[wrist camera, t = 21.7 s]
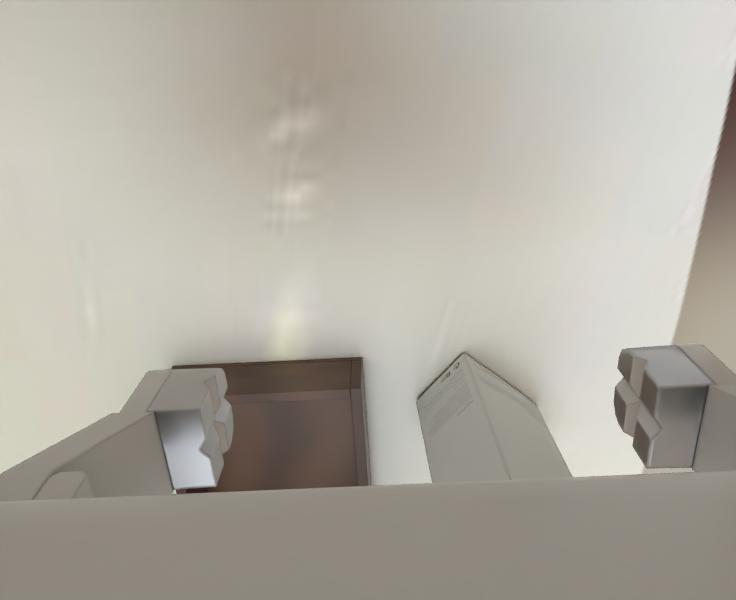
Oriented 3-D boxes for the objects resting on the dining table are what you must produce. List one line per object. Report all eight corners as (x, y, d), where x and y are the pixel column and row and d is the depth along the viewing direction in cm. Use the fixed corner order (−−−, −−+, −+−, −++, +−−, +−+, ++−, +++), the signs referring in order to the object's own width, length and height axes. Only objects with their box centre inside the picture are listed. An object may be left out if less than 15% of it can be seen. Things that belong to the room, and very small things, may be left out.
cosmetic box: (414, 399, 47) (431, 548, 33) (466, 346, 45) (507, 482, 31) (492, 453, 49) (538, 614, 35) (545, 405, 47) (615, 556, 33)
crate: (208, 529, 53) (194, 570, 49) (172, 366, 46) (153, 398, 42) (374, 523, 52) (374, 564, 48) (362, 357, 45) (361, 388, 41)
